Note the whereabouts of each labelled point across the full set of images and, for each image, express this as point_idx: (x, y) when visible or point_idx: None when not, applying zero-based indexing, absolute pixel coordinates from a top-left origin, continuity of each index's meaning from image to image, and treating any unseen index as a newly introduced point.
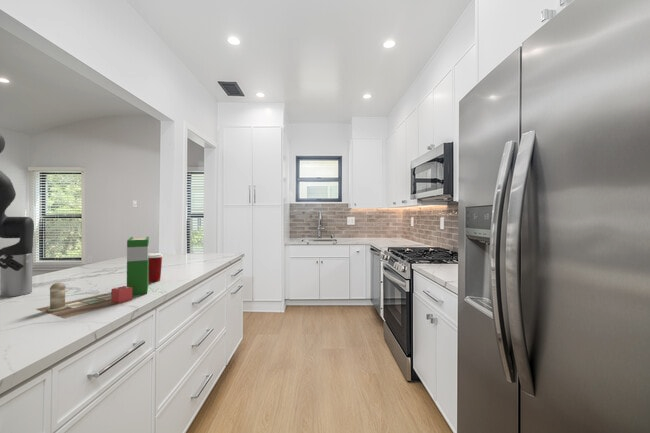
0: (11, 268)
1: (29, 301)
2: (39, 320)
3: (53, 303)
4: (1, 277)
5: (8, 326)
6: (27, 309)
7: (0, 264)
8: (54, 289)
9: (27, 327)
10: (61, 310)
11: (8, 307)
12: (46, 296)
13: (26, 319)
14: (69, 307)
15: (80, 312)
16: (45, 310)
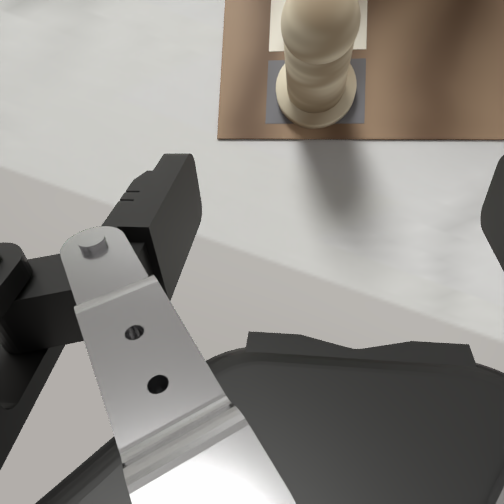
0: (500, 258)
1: (44, 97)
2: (427, 201)
3: (332, 94)
4: None
5: (395, 294)
6: None
7: (185, 245)
8: (347, 46)
9: (492, 266)
10: (358, 92)
11: (68, 179)
12: (19, 24)
13: (354, 219)
14: None
15: (480, 64)
16: (285, 126)
